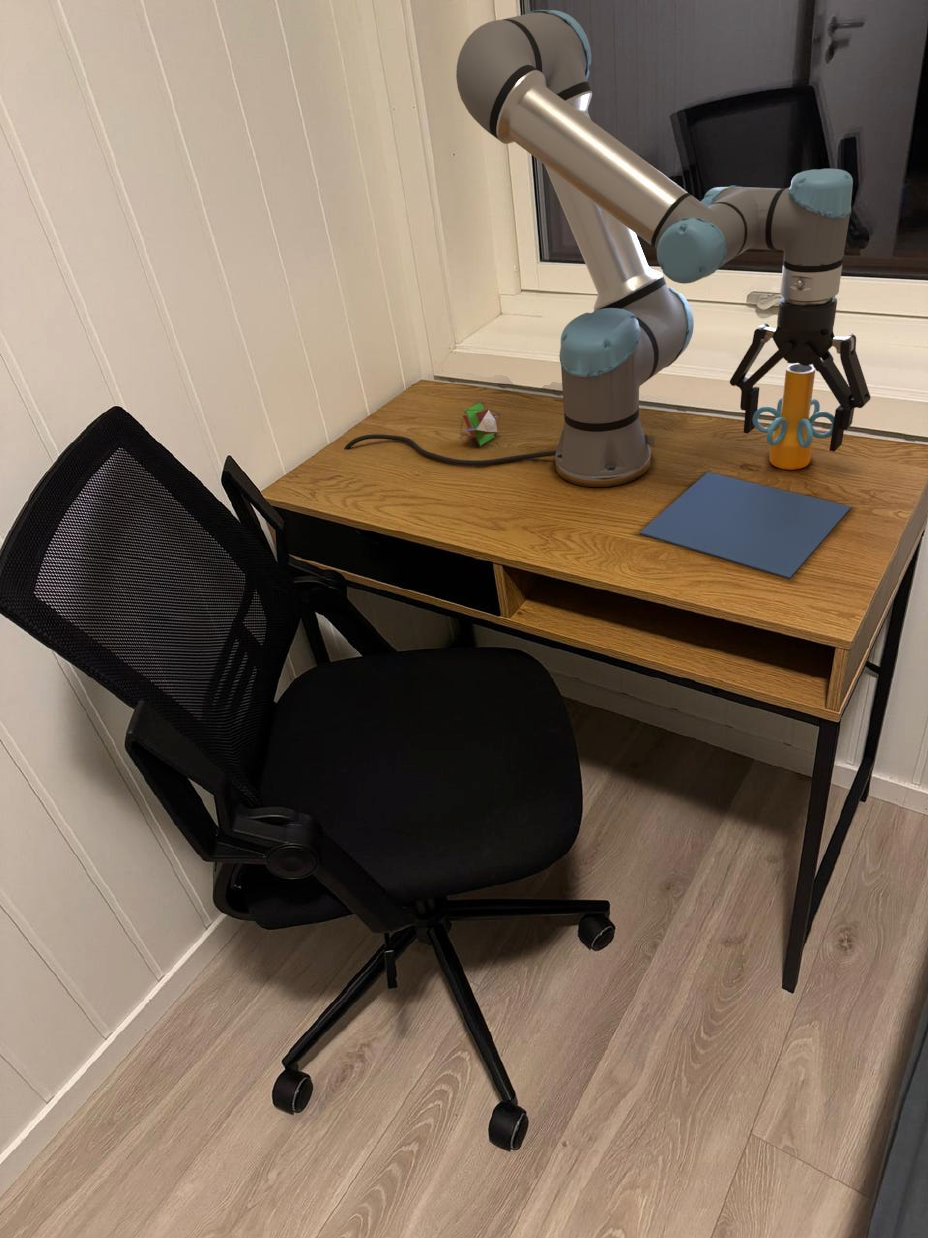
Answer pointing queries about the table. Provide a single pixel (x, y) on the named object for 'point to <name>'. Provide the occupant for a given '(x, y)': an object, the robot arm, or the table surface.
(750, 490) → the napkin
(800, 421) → the cylinder
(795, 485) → the table surface
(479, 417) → the geometric puzzle
